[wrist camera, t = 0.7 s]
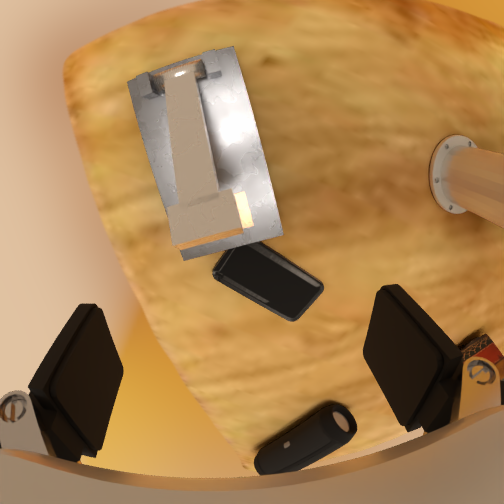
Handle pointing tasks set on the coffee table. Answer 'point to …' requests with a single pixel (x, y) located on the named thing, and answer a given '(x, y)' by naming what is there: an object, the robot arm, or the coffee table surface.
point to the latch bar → (194, 164)
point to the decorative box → (484, 352)
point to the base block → (213, 146)
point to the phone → (268, 279)
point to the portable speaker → (307, 442)
